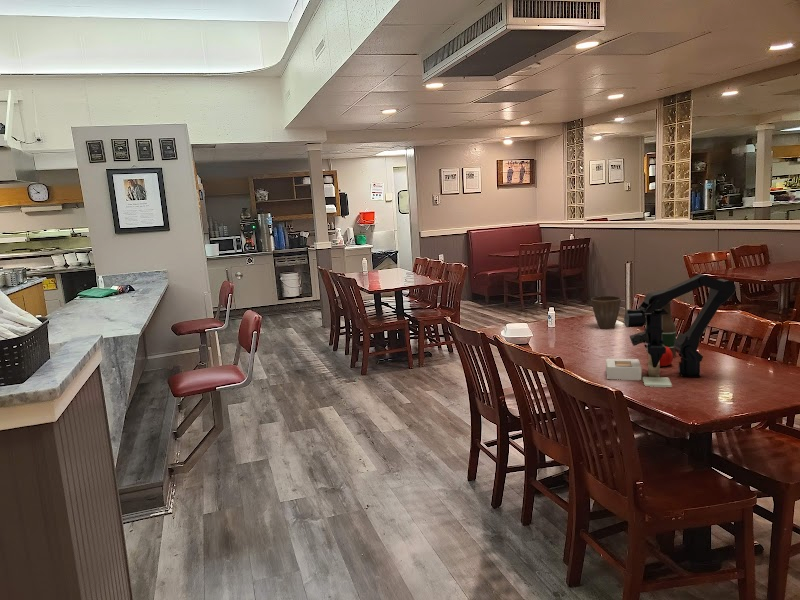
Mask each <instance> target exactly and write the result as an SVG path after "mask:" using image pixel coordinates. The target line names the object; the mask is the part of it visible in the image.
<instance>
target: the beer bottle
mask: <svg viewBox="0 0 800 600" xmlns="http://www.w3.org/2000/svg"><path fill="white" fill-rule="evenodd" d="M671 305H672V300H671V301H670V302H669V303H668V304H667V305H666V306H664V307H663V308H664V309H665V311H667V312H668V314H666V315H662V329H663V333H662V340H663V343H659V344H663V345H664V346H666V347H668V348H669V349H670V350H671V351H672V354H673V358H674V356H675V357H676V355H677V352H676V351H675V349H674V343H675V342H674V340H676V339H677V327H676V324H675V322H674V321H673V319H672V309H671Z"/></svg>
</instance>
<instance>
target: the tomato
mask: <svg viewBox="0 0 800 600" xmlns="http://www.w3.org/2000/svg"><path fill="white" fill-rule="evenodd" d="M665 348H666V353H665V354H663V355H662V357H661V359H660V367H667V366H669V365H671V364H672V362H673V360H674V357H673V354H672V351H671V350H670V349H669V348H668V347H666V346H665Z"/></svg>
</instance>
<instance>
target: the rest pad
mask: <svg viewBox="0 0 800 600" xmlns="http://www.w3.org/2000/svg"><path fill="white" fill-rule="evenodd" d="M641 381H642V382H644V383H643V386H644V385H645V386H650V387H649V388H666V387H672V388H673V384H672V382H671V380H670V377H664V376H663V377H662V376H659V377H649V376H641ZM645 386H644V387H645ZM653 386H654V387H653Z"/></svg>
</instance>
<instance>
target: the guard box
mask: <svg viewBox="0 0 800 600" xmlns="http://www.w3.org/2000/svg"><path fill="white" fill-rule="evenodd" d="M616 364H630V365H616ZM605 372H606V377H607V379H617V380H616V381H639V380H641V381H642V366H641V363H640V360H639V359H638V358H605ZM618 379H619V380H618ZM620 379H621V380H620Z"/></svg>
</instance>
